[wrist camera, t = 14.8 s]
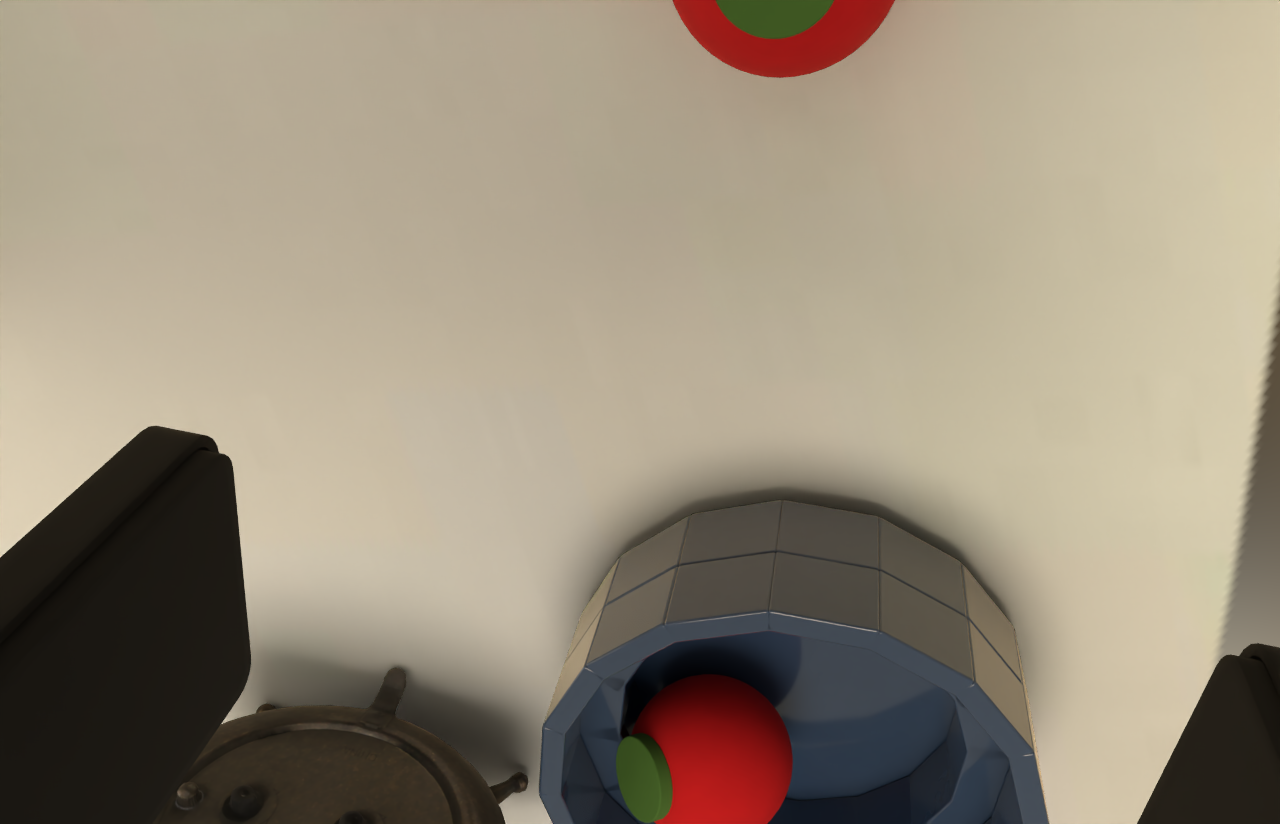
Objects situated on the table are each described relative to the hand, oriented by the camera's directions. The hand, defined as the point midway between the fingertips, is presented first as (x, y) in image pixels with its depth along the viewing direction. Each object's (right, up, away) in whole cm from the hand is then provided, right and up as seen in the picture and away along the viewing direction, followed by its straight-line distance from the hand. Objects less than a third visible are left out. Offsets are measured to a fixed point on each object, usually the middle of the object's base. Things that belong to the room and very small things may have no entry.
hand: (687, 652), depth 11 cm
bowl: (+4, -5, +21) cm, 22 cm away
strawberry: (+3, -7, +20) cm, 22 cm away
